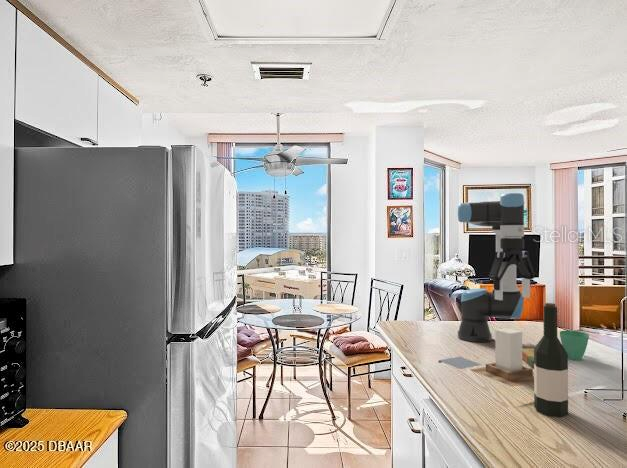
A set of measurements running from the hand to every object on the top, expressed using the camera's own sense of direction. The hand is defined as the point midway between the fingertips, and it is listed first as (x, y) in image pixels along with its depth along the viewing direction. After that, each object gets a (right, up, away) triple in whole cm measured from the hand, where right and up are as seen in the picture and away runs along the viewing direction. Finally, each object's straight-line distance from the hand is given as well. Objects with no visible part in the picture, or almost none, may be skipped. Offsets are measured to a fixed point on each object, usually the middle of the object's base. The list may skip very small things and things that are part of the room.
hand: (512, 298), depth 144 cm
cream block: (-2, -26, 0) cm, 26 cm away
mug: (+35, -27, +21) cm, 49 cm away
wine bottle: (-3, -27, -28) cm, 40 cm away
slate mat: (-14, -27, +13) cm, 33 cm away
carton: (+15, -28, +12) cm, 34 cm away
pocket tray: (-2, -27, 0) cm, 27 cm away
